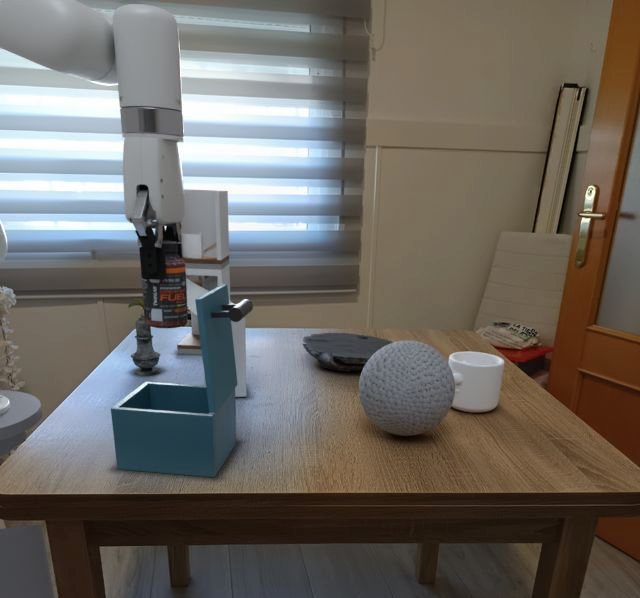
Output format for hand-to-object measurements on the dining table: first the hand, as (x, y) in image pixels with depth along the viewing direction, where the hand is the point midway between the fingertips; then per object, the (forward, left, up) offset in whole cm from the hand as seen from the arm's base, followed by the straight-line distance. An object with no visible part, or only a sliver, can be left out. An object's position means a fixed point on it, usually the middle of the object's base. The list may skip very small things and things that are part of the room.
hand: (163, 274), depth 78 cm
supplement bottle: (0, 0, -7) cm, 7 cm away
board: (+24, +47, -25) cm, 58 cm away
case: (+3, -5, -25) cm, 25 cm away
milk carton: (+2, +23, -25) cm, 34 cm away
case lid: (+9, -6, -8) cm, 13 cm away
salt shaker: (-17, +32, -25) cm, 44 cm away
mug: (+47, +26, -25) cm, 59 cm away
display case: (-11, +53, -25) cm, 59 cm away
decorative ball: (+35, +10, -25) cm, 44 cm away
